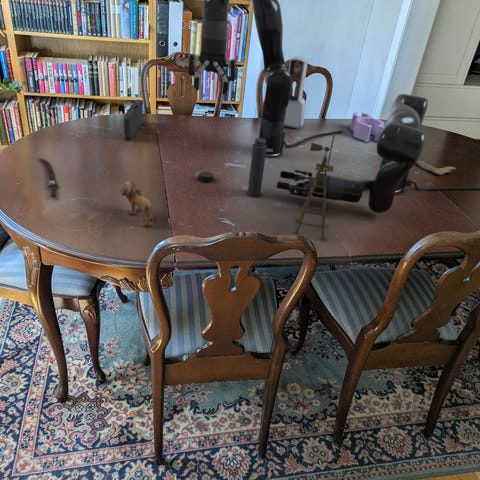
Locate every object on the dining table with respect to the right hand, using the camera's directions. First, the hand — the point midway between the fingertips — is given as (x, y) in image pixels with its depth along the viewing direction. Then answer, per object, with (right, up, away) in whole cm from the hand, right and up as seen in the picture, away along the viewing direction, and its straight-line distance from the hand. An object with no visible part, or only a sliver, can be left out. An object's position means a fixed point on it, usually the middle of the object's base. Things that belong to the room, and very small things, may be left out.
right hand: (278, 179), depth 151 cm
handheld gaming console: (-57, +25, +42) cm, 75 cm away
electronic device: (+10, +33, +65) cm, 74 cm away
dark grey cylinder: (-8, -4, +4) cm, 10 cm away
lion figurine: (-42, -13, -15) cm, 46 cm away
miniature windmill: (+8, -17, -13) cm, 23 cm away
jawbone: (+65, +11, +39) cm, 77 cm away
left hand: (-22, +26, -6) cm, 35 cm away
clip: (+45, +29, +65) cm, 84 cm away
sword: (-75, 0, 0) cm, 75 cm away
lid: (-24, +3, +9) cm, 26 cm away
